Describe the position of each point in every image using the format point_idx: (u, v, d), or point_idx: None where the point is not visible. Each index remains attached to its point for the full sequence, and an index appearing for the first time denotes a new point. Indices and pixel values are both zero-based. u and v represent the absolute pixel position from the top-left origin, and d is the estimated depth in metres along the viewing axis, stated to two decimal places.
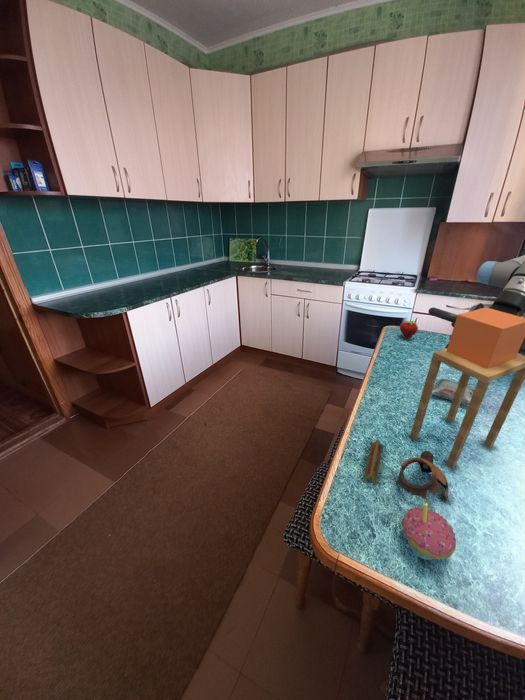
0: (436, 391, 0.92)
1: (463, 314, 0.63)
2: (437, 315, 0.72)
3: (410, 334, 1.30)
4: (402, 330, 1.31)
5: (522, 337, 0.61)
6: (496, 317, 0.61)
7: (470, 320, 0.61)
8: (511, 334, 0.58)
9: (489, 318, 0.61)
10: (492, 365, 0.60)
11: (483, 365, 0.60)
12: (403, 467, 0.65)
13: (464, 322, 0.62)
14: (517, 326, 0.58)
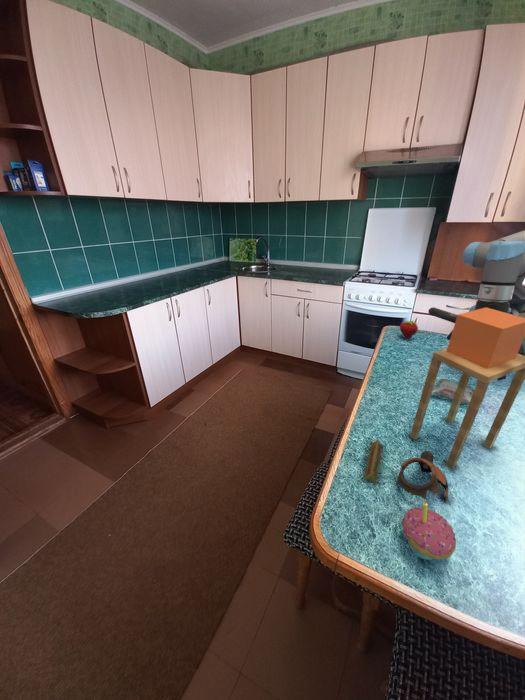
0: (436, 391, 0.92)
1: (463, 314, 0.63)
2: (437, 315, 0.72)
3: (410, 334, 1.30)
4: (402, 330, 1.31)
5: (522, 337, 0.61)
6: (496, 317, 0.61)
7: (470, 320, 0.61)
8: (511, 334, 0.58)
9: (489, 318, 0.61)
10: (492, 365, 0.60)
11: (483, 365, 0.60)
12: (403, 467, 0.65)
13: (464, 322, 0.62)
14: (517, 326, 0.58)
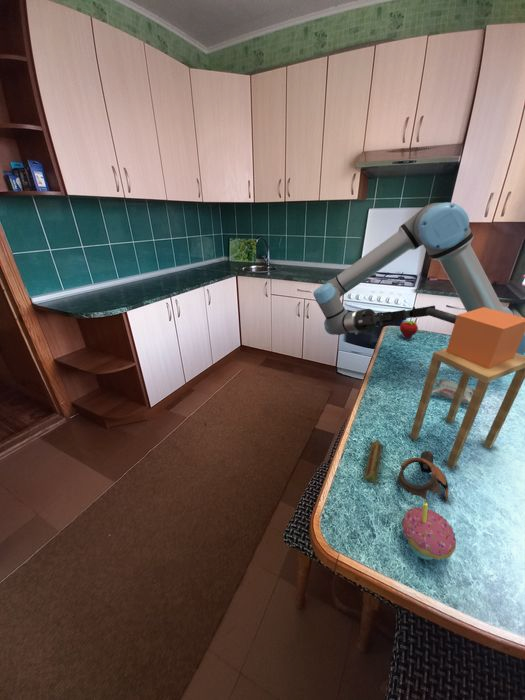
0: (436, 391, 0.92)
1: (462, 314, 0.63)
2: (435, 315, 0.71)
3: (410, 334, 1.30)
4: (402, 330, 1.31)
5: (521, 336, 0.61)
6: (495, 316, 0.61)
7: (470, 320, 0.61)
8: (511, 333, 0.58)
9: (488, 317, 0.61)
10: (493, 365, 0.60)
11: (484, 365, 0.60)
12: (403, 467, 0.65)
13: (464, 322, 0.62)
14: (517, 326, 0.58)
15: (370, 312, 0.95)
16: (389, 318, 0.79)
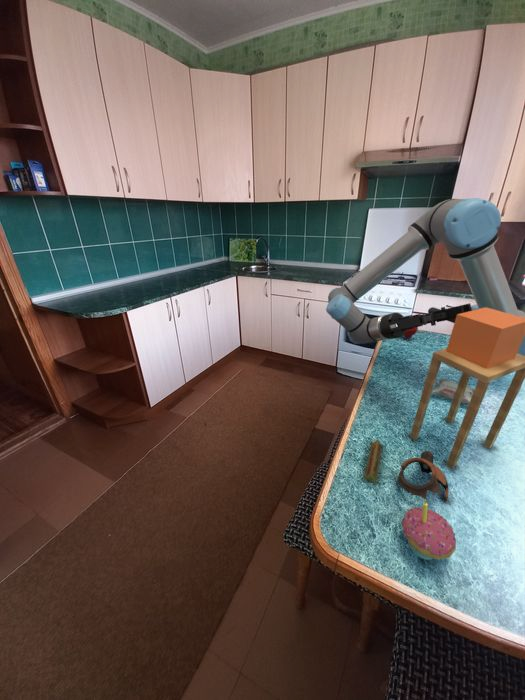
0: (436, 391, 0.92)
1: (462, 314, 0.63)
2: None
3: (410, 334, 1.30)
4: None
5: (521, 337, 0.61)
6: (496, 316, 0.61)
7: (469, 320, 0.61)
8: (511, 333, 0.58)
9: (488, 317, 0.61)
10: (491, 365, 0.60)
11: (482, 365, 0.60)
12: (403, 467, 0.65)
13: (464, 321, 0.62)
14: (516, 326, 0.58)
15: (397, 316, 0.84)
16: (443, 316, 0.68)
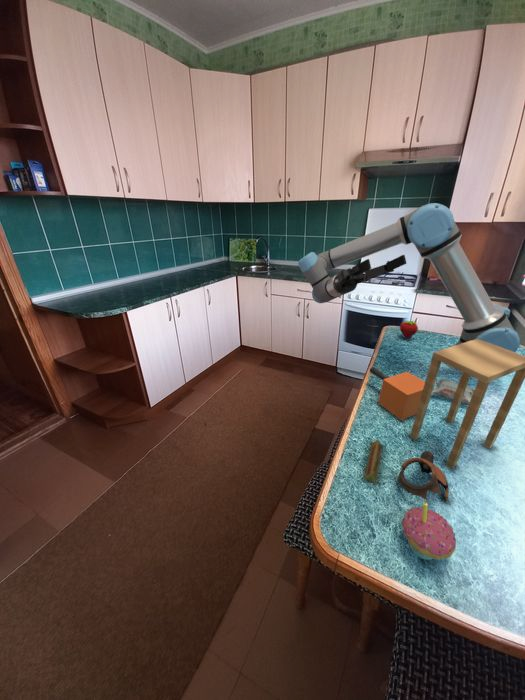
0: (436, 391, 0.92)
1: (387, 379, 0.88)
2: (374, 374, 0.96)
3: (410, 334, 1.30)
4: (402, 330, 1.31)
5: None
6: (409, 382, 0.86)
7: (390, 385, 0.85)
8: (416, 396, 0.83)
9: (403, 383, 0.85)
10: (405, 417, 0.85)
11: (399, 417, 0.85)
12: (403, 467, 0.65)
13: (387, 385, 0.87)
14: (420, 391, 0.82)
15: None
16: (356, 270, 0.83)
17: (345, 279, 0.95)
